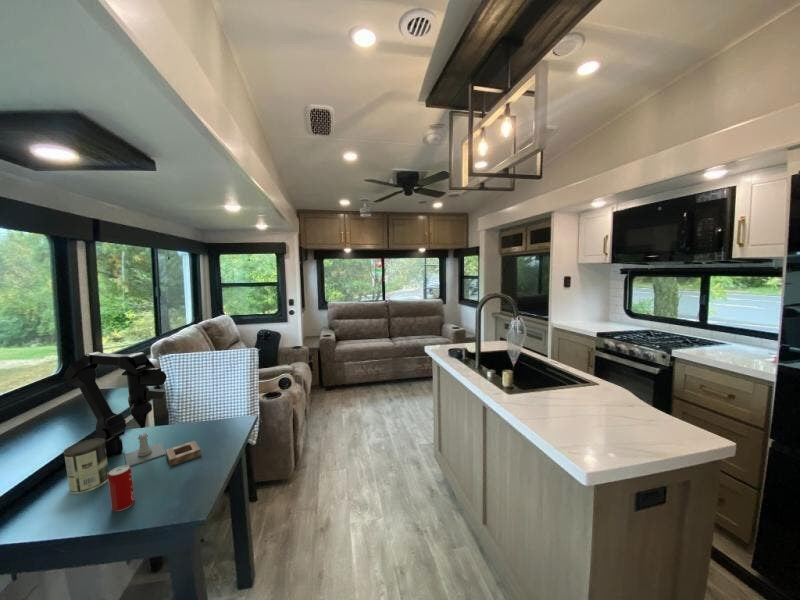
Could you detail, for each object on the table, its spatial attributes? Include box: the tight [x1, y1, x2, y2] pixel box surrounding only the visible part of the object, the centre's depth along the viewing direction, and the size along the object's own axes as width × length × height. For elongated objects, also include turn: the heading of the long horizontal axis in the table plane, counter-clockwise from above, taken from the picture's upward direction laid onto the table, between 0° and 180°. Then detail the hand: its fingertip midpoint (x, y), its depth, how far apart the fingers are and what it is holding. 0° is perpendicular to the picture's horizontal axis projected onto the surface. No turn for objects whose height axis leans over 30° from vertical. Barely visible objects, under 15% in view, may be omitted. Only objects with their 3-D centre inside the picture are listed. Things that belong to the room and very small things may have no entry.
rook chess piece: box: [137, 432, 152, 457], centre depth 130 cm, size 4×4×8 cm
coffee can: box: [62, 438, 110, 495], centre depth 112 cm, size 10×10×14 cm
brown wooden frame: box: [165, 440, 202, 467], centre depth 129 cm, size 10×10×2 cm
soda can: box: [107, 464, 136, 512], centre depth 101 cm, size 6×6×12 cm
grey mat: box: [124, 442, 166, 468], centre depth 130 cm, size 12×12×1 cm
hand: (141, 423), depth 129 cm, fingers open, 9 cm apart
